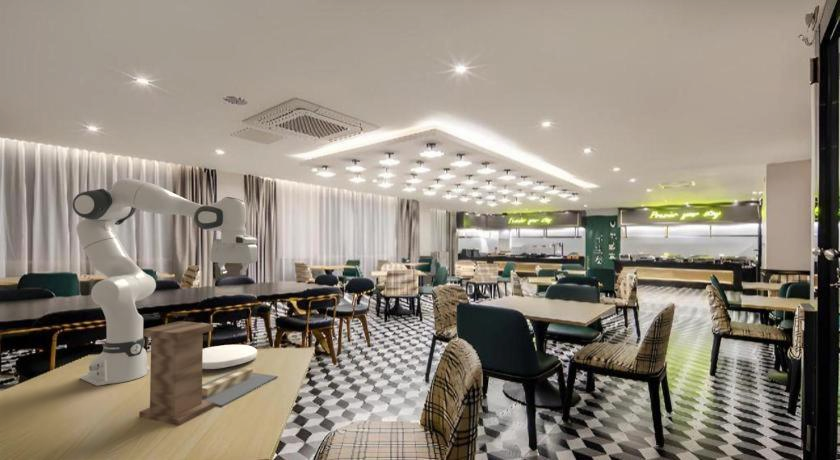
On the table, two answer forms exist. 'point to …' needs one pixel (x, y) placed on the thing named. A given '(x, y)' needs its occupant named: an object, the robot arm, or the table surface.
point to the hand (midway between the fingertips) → (233, 274)
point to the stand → (176, 372)
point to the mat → (238, 388)
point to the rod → (226, 382)
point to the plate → (227, 356)
